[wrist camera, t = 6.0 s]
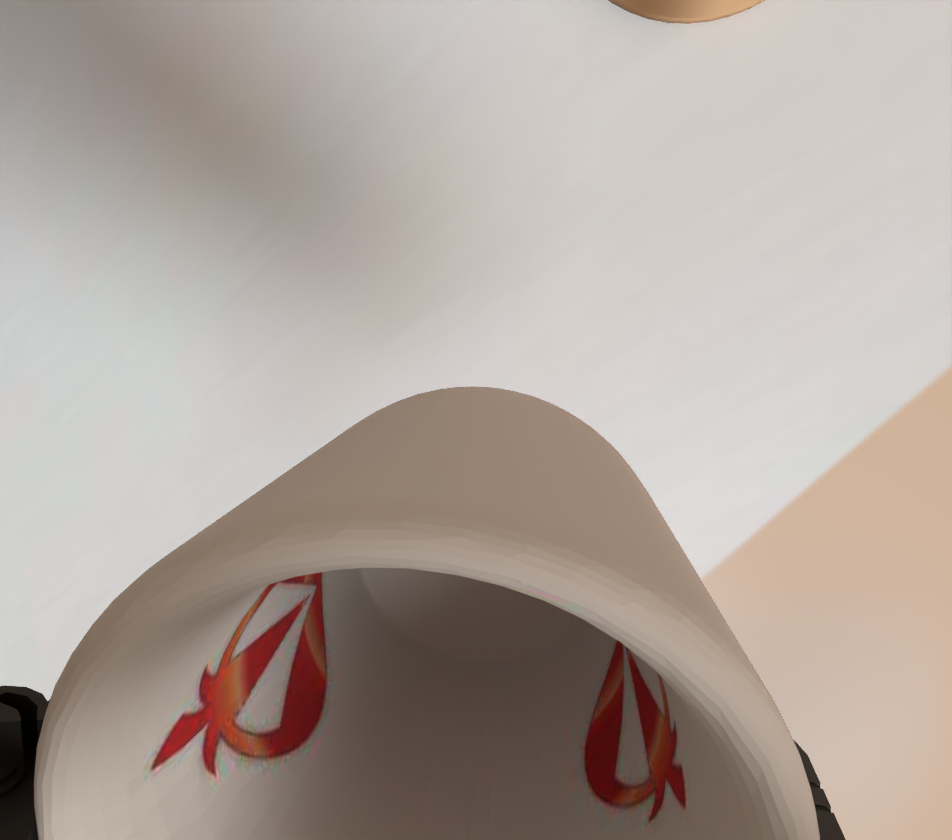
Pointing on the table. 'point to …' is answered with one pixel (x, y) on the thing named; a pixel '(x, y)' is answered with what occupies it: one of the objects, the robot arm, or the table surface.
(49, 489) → the table surface
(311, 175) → the table surface
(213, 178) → the table surface
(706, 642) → the cup
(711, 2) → the coaster
